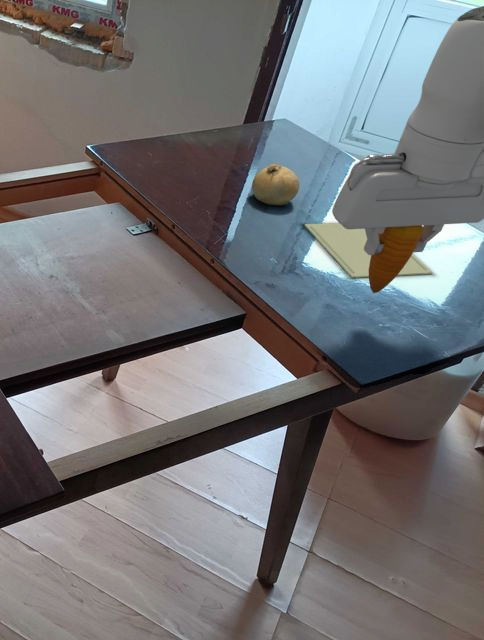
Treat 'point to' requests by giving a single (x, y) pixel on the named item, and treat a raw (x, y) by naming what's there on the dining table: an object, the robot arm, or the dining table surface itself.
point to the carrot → (393, 254)
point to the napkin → (354, 250)
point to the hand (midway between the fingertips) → (392, 251)
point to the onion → (275, 185)
